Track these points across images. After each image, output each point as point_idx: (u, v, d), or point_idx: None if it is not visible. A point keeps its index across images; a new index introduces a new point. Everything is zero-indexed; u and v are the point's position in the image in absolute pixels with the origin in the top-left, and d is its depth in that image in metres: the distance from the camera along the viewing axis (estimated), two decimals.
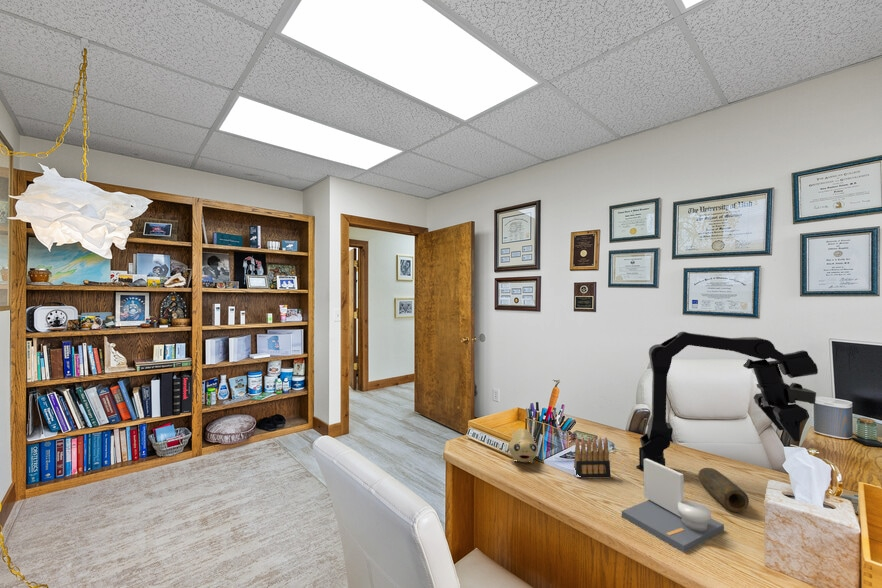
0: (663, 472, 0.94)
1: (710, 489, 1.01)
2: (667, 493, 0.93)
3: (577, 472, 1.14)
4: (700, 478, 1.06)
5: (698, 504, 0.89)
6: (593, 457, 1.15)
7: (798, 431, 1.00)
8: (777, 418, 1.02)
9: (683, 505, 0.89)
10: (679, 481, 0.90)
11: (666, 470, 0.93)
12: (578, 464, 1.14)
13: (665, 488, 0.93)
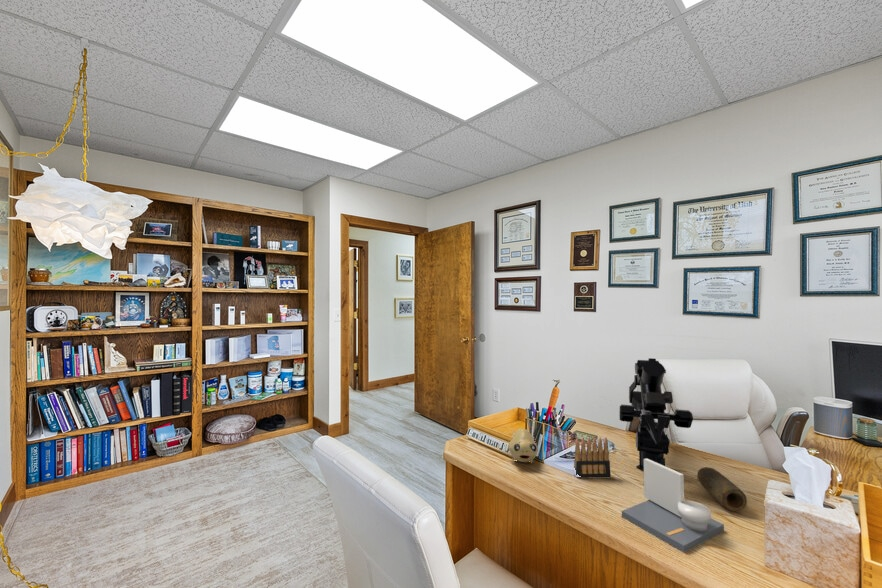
0: (663, 472, 0.94)
1: (708, 488, 1.01)
2: (667, 493, 0.93)
3: (577, 472, 1.14)
4: (699, 477, 1.07)
5: (698, 504, 0.89)
6: (593, 457, 1.15)
7: (652, 431, 1.08)
8: (647, 424, 1.13)
9: (683, 505, 0.89)
10: (679, 481, 0.90)
11: (666, 470, 0.93)
12: (578, 464, 1.14)
13: (665, 488, 0.93)
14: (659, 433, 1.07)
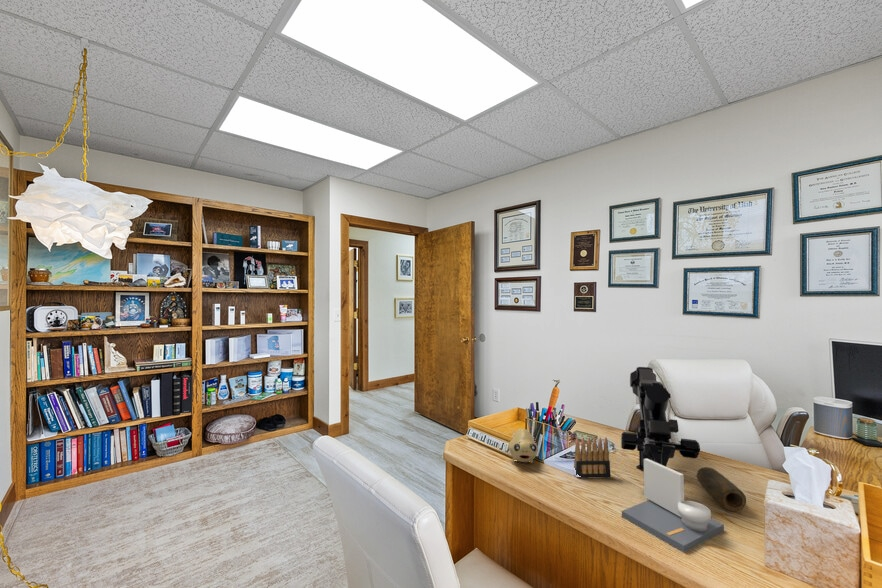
0: (663, 472, 0.94)
1: (708, 488, 1.01)
2: (667, 493, 0.93)
3: (577, 472, 1.14)
4: (698, 477, 1.07)
5: (698, 504, 0.89)
6: (593, 457, 1.15)
7: (656, 462, 1.01)
8: None
9: (683, 505, 0.89)
10: (679, 481, 0.90)
11: (666, 470, 0.93)
12: (578, 464, 1.14)
13: (665, 488, 0.93)
14: (664, 464, 1.00)
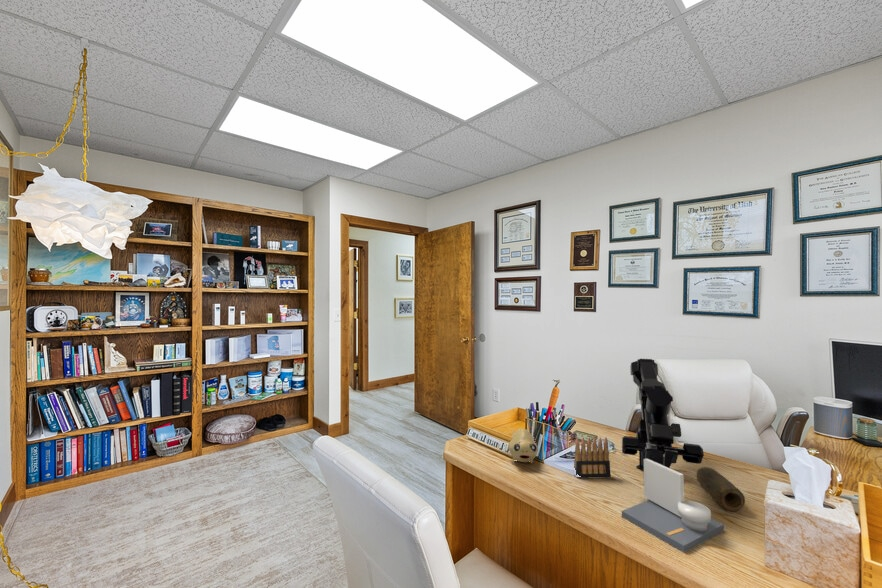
0: (663, 472, 0.94)
1: (707, 488, 1.01)
2: (667, 493, 0.93)
3: (577, 472, 1.14)
4: (698, 477, 1.07)
5: (698, 504, 0.89)
6: (593, 457, 1.15)
7: None
8: None
9: (683, 505, 0.89)
10: (679, 481, 0.90)
11: (666, 470, 0.93)
12: (578, 464, 1.14)
13: (665, 488, 0.93)
14: None
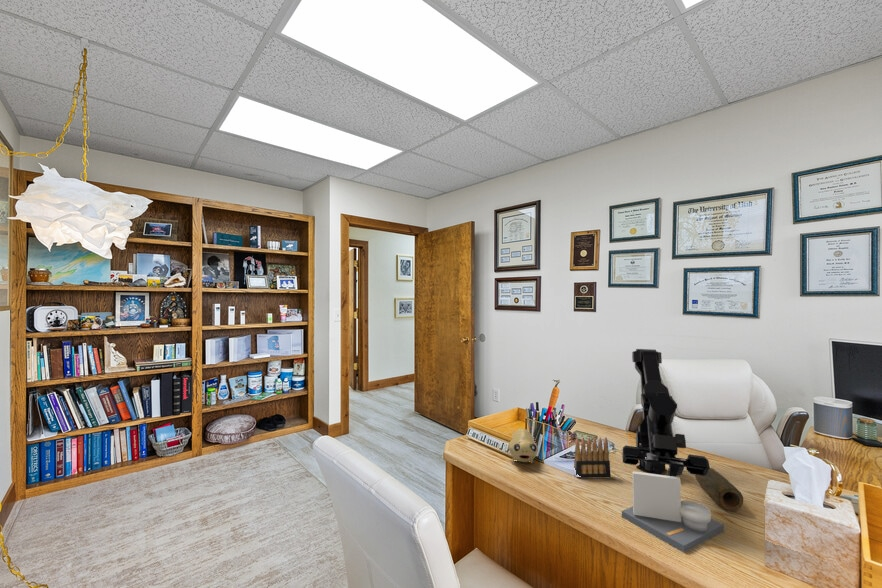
0: (659, 482, 0.89)
1: (706, 487, 1.02)
2: (664, 502, 0.89)
3: (577, 472, 1.14)
4: (697, 477, 1.07)
5: (687, 501, 0.90)
6: (593, 457, 1.15)
7: None
8: None
9: (687, 509, 0.87)
10: (679, 485, 0.88)
11: (663, 478, 0.89)
12: (578, 464, 1.14)
13: (662, 497, 0.89)
14: None
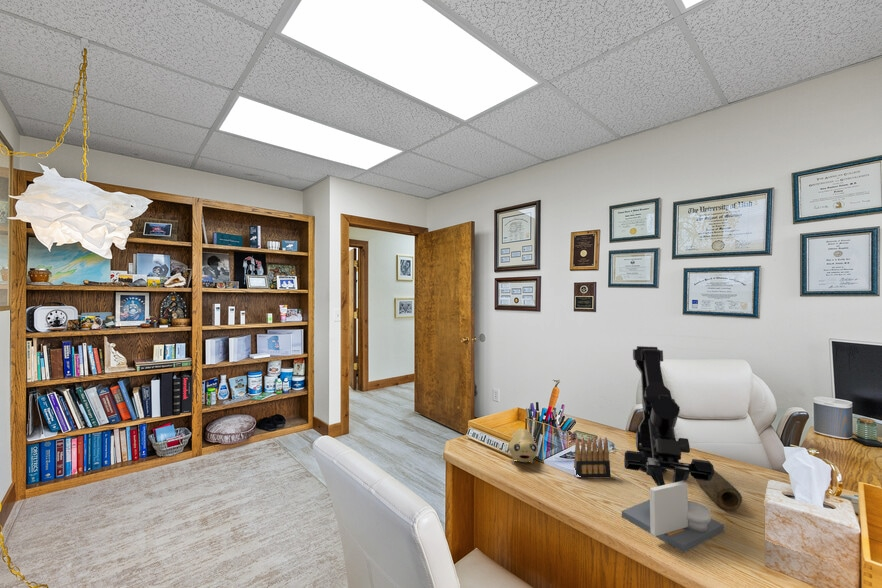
0: (673, 491, 0.85)
1: (705, 487, 1.02)
2: (676, 511, 0.85)
3: (577, 472, 1.14)
4: None
5: None
6: (593, 457, 1.15)
7: None
8: None
9: (694, 512, 0.86)
10: (686, 490, 0.86)
11: (675, 487, 0.85)
12: (578, 464, 1.14)
13: (675, 507, 0.85)
14: None
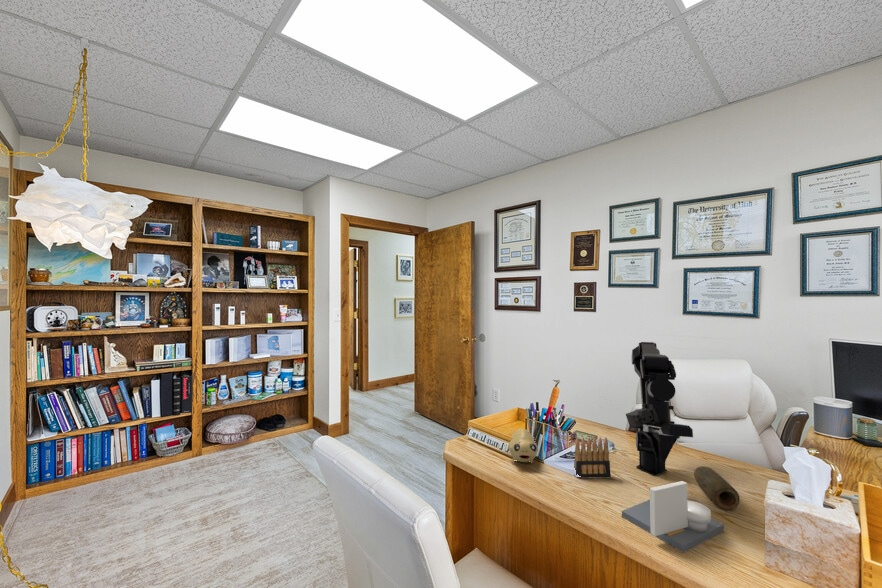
0: (673, 491, 0.85)
1: (703, 487, 1.02)
2: (676, 512, 0.85)
3: (577, 472, 1.14)
4: (695, 476, 1.08)
5: None
6: (593, 457, 1.15)
7: None
8: None
9: (694, 512, 0.86)
10: (686, 490, 0.86)
11: (675, 487, 0.85)
12: (578, 464, 1.14)
13: (675, 507, 0.85)
14: (660, 451, 1.00)
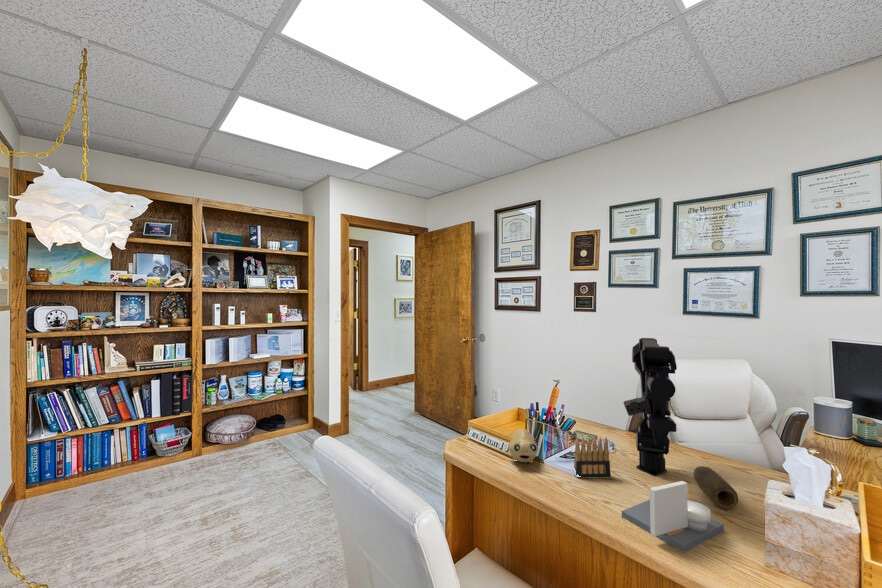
0: (673, 491, 0.85)
1: (702, 486, 1.02)
2: (676, 512, 0.85)
3: (577, 472, 1.14)
4: (694, 476, 1.08)
5: None
6: (593, 457, 1.15)
7: None
8: None
9: (694, 512, 0.86)
10: (686, 490, 0.86)
11: (675, 487, 0.85)
12: (578, 464, 1.14)
13: (675, 507, 0.85)
14: (654, 438, 1.04)
